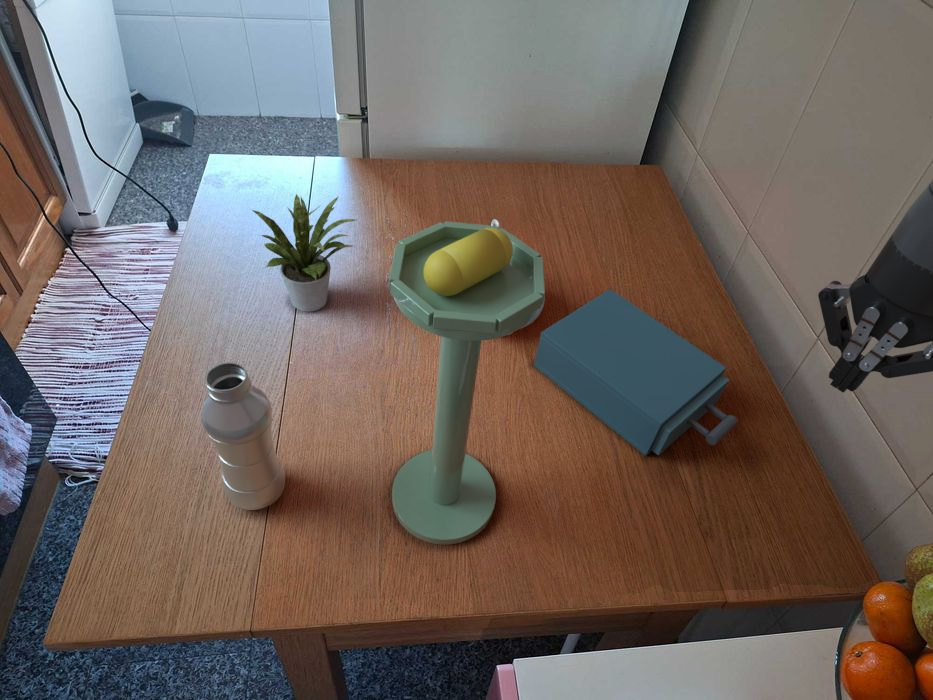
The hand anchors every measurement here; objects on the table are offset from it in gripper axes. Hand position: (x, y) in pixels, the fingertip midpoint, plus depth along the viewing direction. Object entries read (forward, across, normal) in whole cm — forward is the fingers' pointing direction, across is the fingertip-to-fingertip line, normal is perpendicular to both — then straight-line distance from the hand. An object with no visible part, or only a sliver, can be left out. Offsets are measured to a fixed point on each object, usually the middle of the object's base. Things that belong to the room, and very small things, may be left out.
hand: (840, 385), depth 66 cm
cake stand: (+19, -24, -31) cm, 44 cm away
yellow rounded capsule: (-15, -24, -31) cm, 42 cm away
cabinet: (+19, -22, 0) cm, 30 cm away
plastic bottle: (+19, -38, -48) cm, 64 cm away
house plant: (+19, -61, -25) cm, 69 cm away
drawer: (+19, -18, 0) cm, 26 cm away
